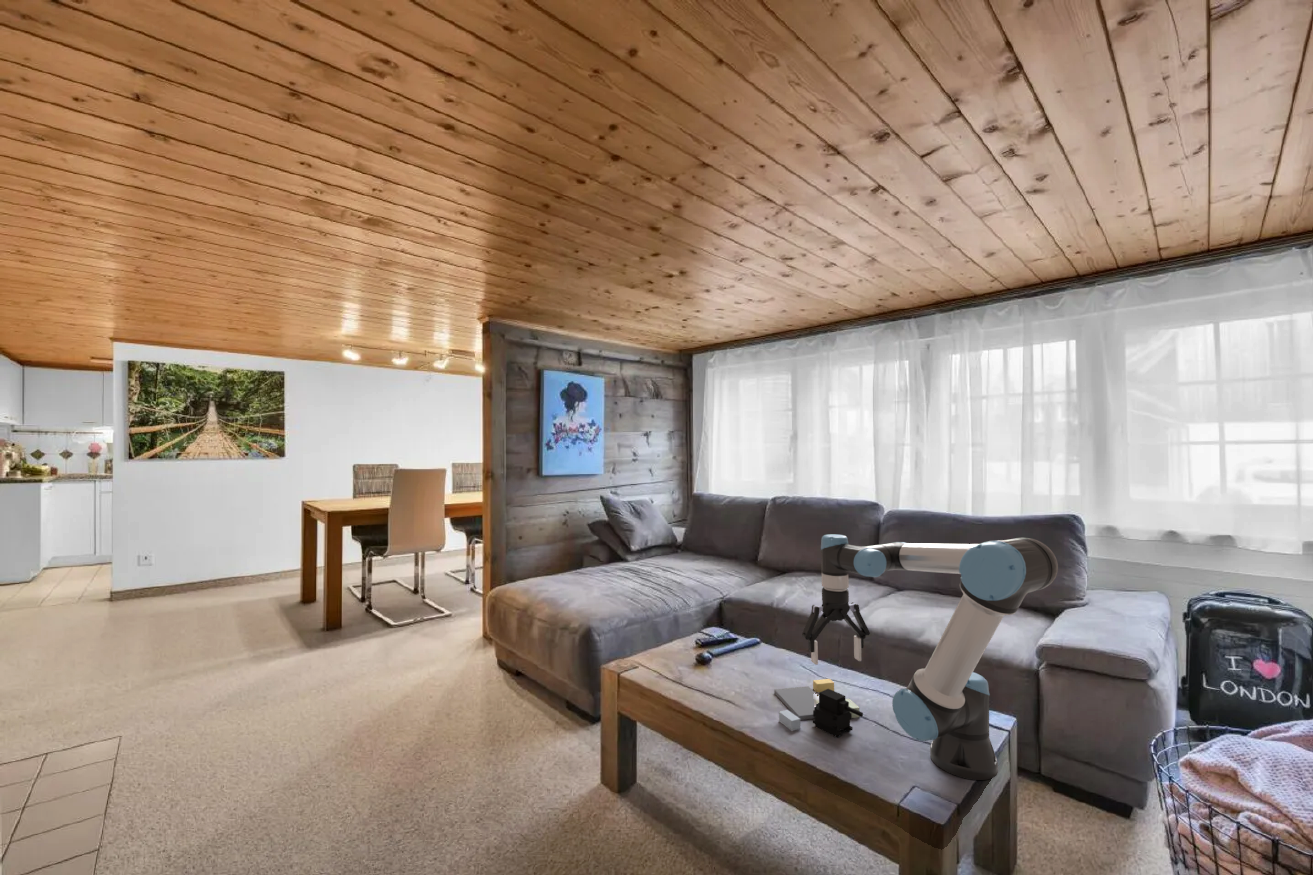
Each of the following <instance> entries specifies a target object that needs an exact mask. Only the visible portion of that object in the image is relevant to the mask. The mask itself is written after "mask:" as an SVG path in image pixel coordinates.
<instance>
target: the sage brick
mask: <svg viewBox="0 0 1313 875" xmlns="http://www.w3.org/2000/svg"><path fill="white" fill-rule="evenodd" d="M845 701H848V702H849V707H851V708H853V709H855V710H858V711H860V707H859V706H858V705H857V704H856V703H855V702H854V701H852V700H851V699H850V698H845ZM850 713H852V712H850ZM860 717H861V716H858V715H856V714H854V713H852V718H853V719H856V718H860Z"/></svg>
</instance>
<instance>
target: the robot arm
mask: <svg viewBox="0 0 1313 875" xmlns="http://www.w3.org/2000/svg"><path fill="white" fill-rule="evenodd" d="M820 539H821V541H820V542H821V544H820V553H821V554H820V555H821V557H820V560H821V562H820V563H821V565H820V566H821V586H822V588H821V602H822V604H821V605H816V604H812V606H811V612H810V614H809V617H808V619H807V621H806V624H805V626H804V627H803V630H802V633H801V637H803V639H804V640H806V641H807V642H808V643H807V644H808V651H809V652H810V655H811V656H810V658H811V660H810V661H811V662H812V663H813V665H815V666H816V665H819V649H818V641H817V640H816V639H817V638H818V637H819V635H820V634H821V632H822V631H823V630H824V628H825V627H827V624H829V623H830V622H837V621H838V622H839V621H840V622H843V620H844V622H845V623H846V624H847V625H848V626H849V628H851V630H852V631H853V632H854V633H855V635H853V655H854V656H853V657H854V659H855V660H857V661H858V662H862V649H864V644H865V643H864V639H866V636H869V635H870V634H871V632H870V630H869V628H868V626H867V624H866V622H865V620H864V618H863V616H862V614H861V612H860V605H859V604H858V603H855V602H852V601H851V603H849V601H850V598H849V597H850V596H849V595H850V592H849V589H848V588H849V586H850V584H849V573H853V574H857V575H861V576H863V577H867V578H869V577H870V578H878V577H880V576H882V574H884V573H885V572H888V571H889V572H890V571H913V572H925V573H926V572H928V573H943V574H954V575H955V574H958V575H960V576H961V577H960V583H959V588H960V591H961V592H962V596H961V598H960V600H959V601H958V604H957V606H956V608H955V609H954V612H953V614H952V616H950V617H951V618H950V619H949V622H948V624H947V625H946V628H945V629H944V630H943V633H942V634H941V637H940V638H939V641H938V642H937V645H936V646H935V649H934V651H932V652H933V653H932V655H931V656H930V658H929V660H928V662H927V664H926V666H925V668H919V669H917V670H916V671H915V673H913V676H912V678H911V680H910V682H909V684H908V686H906V687H905V688H900V689H899V690H898V691H896V692H895V693H894V694H893V697H892V702H891V704H892V710H893V713H894V715H895V719H896V721H897V723H898V724H899V726H900V727H901V729H902V730H903V731H904V732H905V733H906V734H907V735H908V736H910V737H911V738H912V739H915V740H916V741H920V742H928V741H931V744H930V746H929V754H930V755H929V756H930V759H931V761H932V762H933V763H934V764H935V765H936V766H937V767H938V768H940V769H941V770H943V771H945V772H946V773H949V774H951V775H953V776H956V777H960V778H963V779H967V780H973V781H975V780H976V781H986V780H992V779H994V778H995V777H997V775H998V773H999V763H998V762H999V761H998V759H997V756H996V754H995V753H996V752H995V749H994V748H993V744H992V741H991V739H990V696H991V694H990V691H989V690H990V688H989V682H988V680H987V679H985V677H984V676H983V675H980V674H979V673H977V672H974V671H975V669H976V667H977V665H978V663H979V662H980V660H981V658H982V656H983V654H984V653H985V650H987V647H988V646H989V644H990V642H991V640H992V638H993V637H994V635H995V633H996V631H997V630H998V627H999V626H1000V623H1002V620H1003V618H1004V616H1011V615H1014V614H1016V613H1017V611H1018V610H1019V608H1020V606H1021V605H1022V602H1023V600H1024V599H1025V597H1026V596H1027V594H1028V593H1032V592H1037V591H1040V590H1043V589H1046V588H1047V587H1048V586H1050V585H1051V584H1052V583H1053V582H1054V581H1055V579H1056V578H1057V575H1058V571H1059V564H1058V560H1057V558H1056V555H1055V553H1054V552H1053V551H1052V550H1051V549H1050V547H1048V546H1047V544H1045V543H1043V542H1042V541H1040V540H1037V539H1035V538H1029V537H1016V538H1015V537H1014V538H1011V539H1009V538H1008V539H1004V540H1003V539H1000V540H999V539H998V540H989V541H984V542H980V543H970V544H969V543H922V542H921V543H917V542H916V543H915V542H914V543H911V542H910V543H909V542H905V541H893V542H890V543H882V544H881V543H880V544H875V545H873V544H872V545H867V546H865V545H864V546H859V545H853V544H849V540H848V537H847V536H846V535H844V534H831V533H830V534H824V535H822V536H821V538H820ZM850 611H851V612H852V614H853V617H854V618H855V620H856V622H857V624H856V623H855V622H854V620H852V618H851V617H850V616H849V612H850ZM821 613H822V614H821ZM820 614H821V615H820ZM819 616H820V617H819ZM818 619H819V620H818ZM858 626H859V627H858Z"/></svg>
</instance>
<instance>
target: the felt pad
mask: <svg viewBox="0 0 1313 875" xmlns="http://www.w3.org/2000/svg"><path fill="white" fill-rule="evenodd" d="M773 691H774V693H773V694H774V695H775V696H777V698H778V699H779V700H780V701H781V702H782V703H783V704H784V705H785V706H786V707H787V709H788V710H789V711H790V712H791V713H793V714H794V715H796V716H797V717H798V718H800V721H802V720H804V721H805V720H812V719H813V720H814V719H815V717H814V716H813V710H815V707H814V699H813V694H814V693H816V691H815V690H814V689H813V688H811V687H810V686H807V685H806V686H798V687H797V686H796V687H789V688H778V689H777V688H776V689H774V690H773Z"/></svg>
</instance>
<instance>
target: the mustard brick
mask: <svg viewBox="0 0 1313 875" xmlns="http://www.w3.org/2000/svg"><path fill="white" fill-rule="evenodd" d="M826 689H830V690H832V691H835V682H834V681H833V680H832V679H831V678H823V679H814V680H812V690H813V691H814V692H815V693H817V692H822V691H824V690H826Z"/></svg>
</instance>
